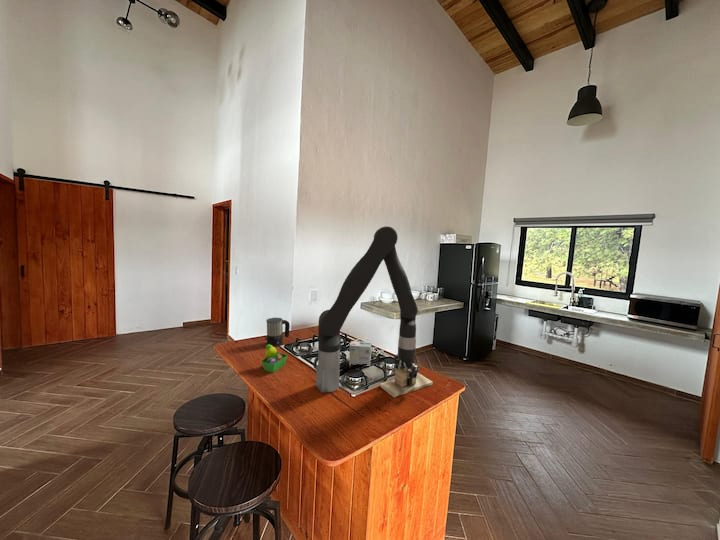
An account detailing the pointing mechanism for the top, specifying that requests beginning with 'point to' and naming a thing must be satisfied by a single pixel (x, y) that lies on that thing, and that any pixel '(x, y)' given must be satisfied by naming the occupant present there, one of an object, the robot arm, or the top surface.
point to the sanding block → (402, 377)
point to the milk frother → (276, 331)
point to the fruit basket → (273, 359)
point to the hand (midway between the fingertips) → (404, 382)
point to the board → (397, 390)
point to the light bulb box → (360, 353)
